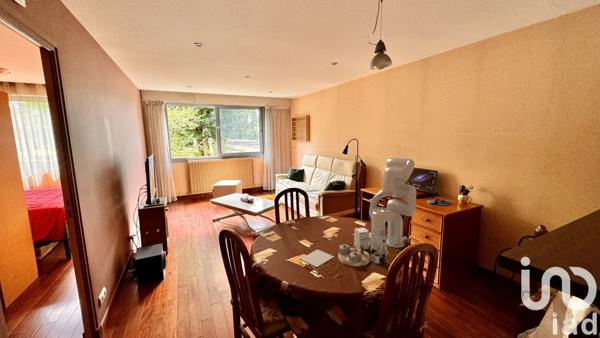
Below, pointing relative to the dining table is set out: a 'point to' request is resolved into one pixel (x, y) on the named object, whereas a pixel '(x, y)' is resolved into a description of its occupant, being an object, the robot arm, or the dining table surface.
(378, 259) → the planet gear
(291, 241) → the dining table surface
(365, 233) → the supplement box
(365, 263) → the carrier
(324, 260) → the paper stack
